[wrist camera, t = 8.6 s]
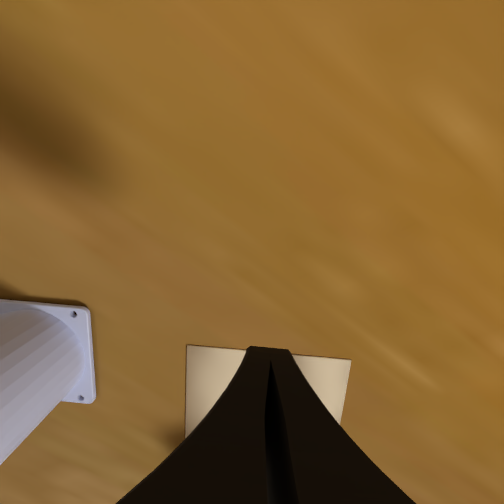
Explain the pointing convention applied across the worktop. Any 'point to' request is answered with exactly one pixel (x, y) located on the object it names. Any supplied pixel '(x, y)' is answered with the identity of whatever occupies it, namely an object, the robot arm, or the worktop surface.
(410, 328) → the worktop surface
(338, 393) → the shelf board
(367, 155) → the worktop surface
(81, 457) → the worktop surface
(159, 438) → the worktop surface
